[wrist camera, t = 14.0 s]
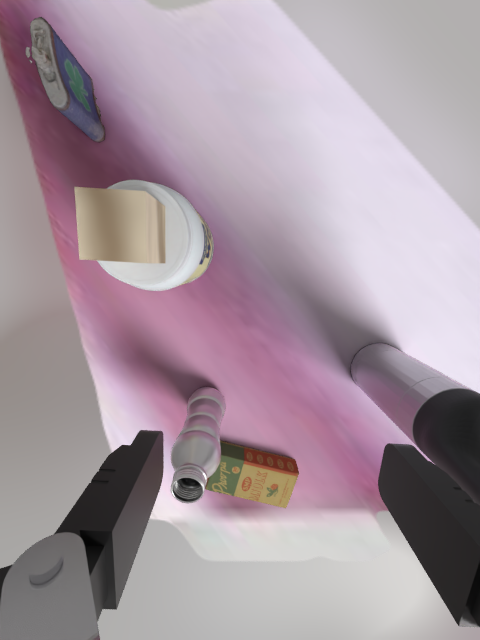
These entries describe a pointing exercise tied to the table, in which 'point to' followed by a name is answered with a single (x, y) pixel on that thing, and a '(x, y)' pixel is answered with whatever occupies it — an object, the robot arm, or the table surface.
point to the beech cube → (120, 225)
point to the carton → (254, 475)
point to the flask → (65, 80)
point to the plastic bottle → (197, 445)
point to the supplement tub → (168, 243)
